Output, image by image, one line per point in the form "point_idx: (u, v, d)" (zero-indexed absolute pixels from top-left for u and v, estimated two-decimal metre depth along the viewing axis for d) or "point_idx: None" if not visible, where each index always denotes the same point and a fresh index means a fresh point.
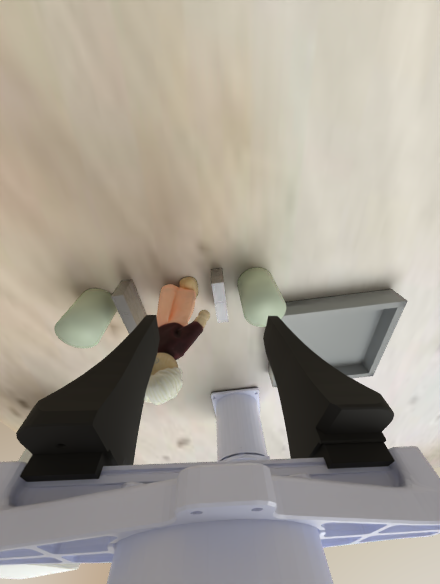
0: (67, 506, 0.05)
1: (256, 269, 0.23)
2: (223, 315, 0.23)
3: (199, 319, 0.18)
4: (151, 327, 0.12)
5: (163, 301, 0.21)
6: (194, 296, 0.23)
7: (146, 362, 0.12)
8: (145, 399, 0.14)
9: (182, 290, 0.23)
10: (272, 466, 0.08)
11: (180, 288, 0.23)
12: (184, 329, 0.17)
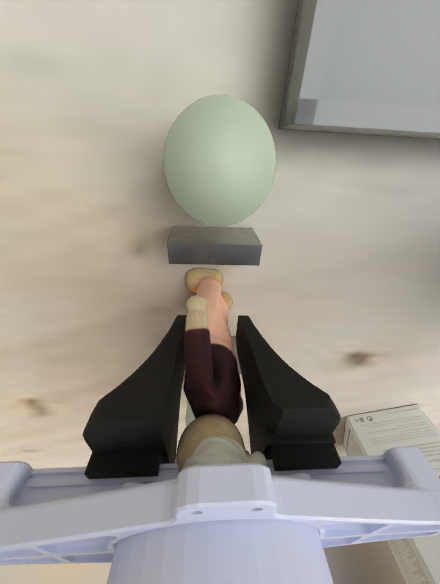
0: (67, 506, 0.05)
1: None
2: (243, 252, 0.12)
3: None
4: (185, 328, 0.12)
5: None
6: (205, 284, 0.14)
7: (182, 362, 0.12)
8: None
9: None
10: (272, 466, 0.08)
11: (196, 295, 0.15)
12: None
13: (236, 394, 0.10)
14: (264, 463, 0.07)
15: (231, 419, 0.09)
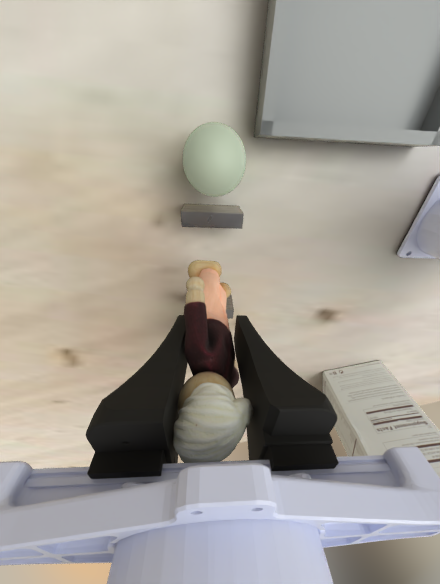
0: (67, 506, 0.05)
1: None
2: (231, 218, 0.17)
3: None
4: None
5: None
6: (205, 273, 0.16)
7: (183, 362, 0.12)
8: None
9: None
10: (272, 466, 0.08)
11: None
12: None
13: (229, 359, 0.11)
14: (248, 404, 0.09)
15: (224, 378, 0.11)
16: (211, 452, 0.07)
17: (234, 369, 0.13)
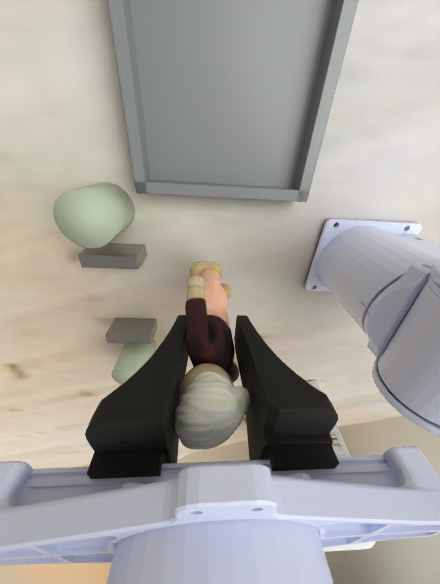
0: (67, 506, 0.05)
1: None
2: (125, 261, 0.19)
3: (187, 296, 0.12)
4: None
5: None
6: (206, 273, 0.16)
7: (183, 362, 0.12)
8: None
9: None
10: (272, 466, 0.08)
11: None
12: None
13: (229, 353, 0.12)
14: (246, 392, 0.09)
15: None
16: (210, 435, 0.08)
17: (234, 365, 0.14)
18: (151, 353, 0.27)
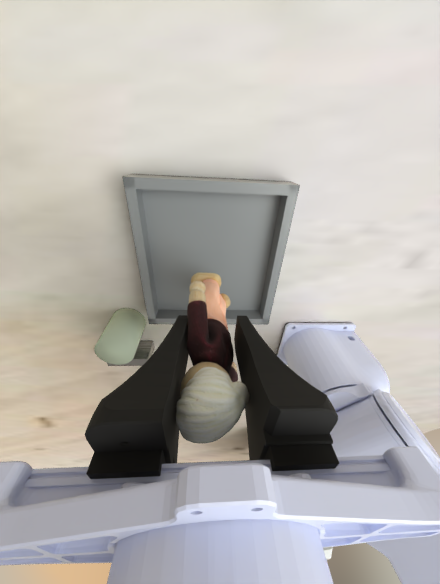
0: (67, 506, 0.05)
1: None
2: (140, 361, 0.26)
3: None
4: (187, 328, 0.12)
5: None
6: (206, 282, 0.17)
7: (183, 362, 0.12)
8: (204, 441, 0.09)
9: None
10: (272, 466, 0.08)
11: None
12: None
13: (228, 354, 0.12)
14: (244, 387, 0.10)
15: None
16: (210, 425, 0.08)
17: (233, 369, 0.14)
18: None
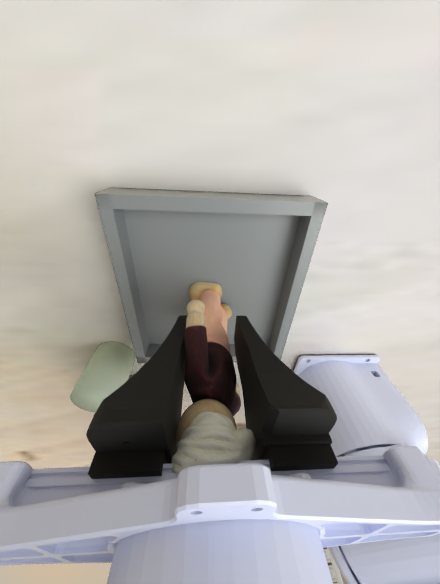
0: (67, 506, 0.05)
1: None
2: None
3: (186, 323, 0.11)
4: None
5: None
6: (206, 295, 0.16)
7: (184, 362, 0.12)
8: None
9: None
10: (272, 466, 0.08)
11: None
12: None
13: (230, 385, 0.11)
14: (251, 435, 0.08)
15: (225, 406, 0.10)
16: None
17: (235, 395, 0.13)
18: None
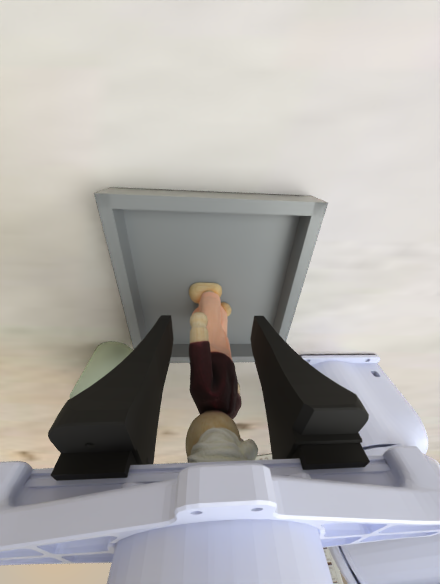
0: (67, 506, 0.05)
1: None
2: None
3: (190, 337, 0.11)
4: (167, 327, 0.12)
5: None
6: (206, 297, 0.16)
7: (163, 362, 0.12)
8: None
9: (199, 307, 0.17)
10: (272, 466, 0.08)
11: (198, 306, 0.17)
12: None
13: (233, 393, 0.12)
14: (254, 448, 0.09)
15: (229, 414, 0.11)
16: None
17: (237, 395, 0.14)
18: None
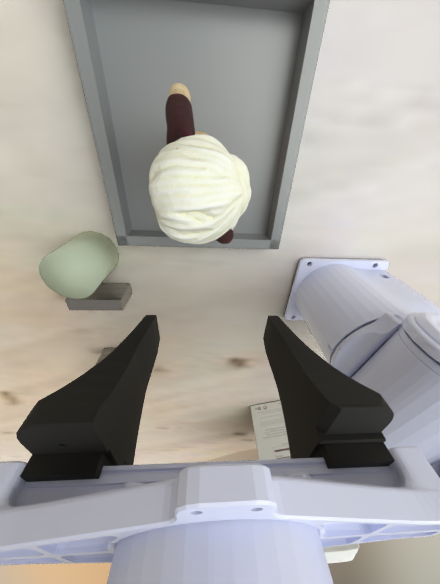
0: (67, 506, 0.05)
1: None
2: (110, 303, 0.20)
3: None
4: (151, 327, 0.12)
5: None
6: None
7: (146, 362, 0.12)
8: (190, 223, 0.06)
9: None
10: (272, 466, 0.08)
11: None
12: None
13: None
14: (245, 165, 0.07)
15: None
16: (197, 182, 0.06)
17: None
18: None
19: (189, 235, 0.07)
